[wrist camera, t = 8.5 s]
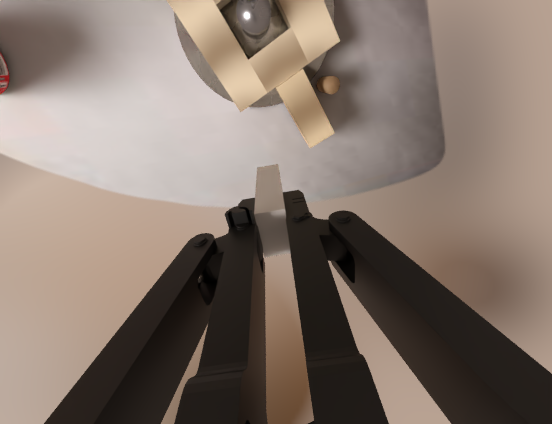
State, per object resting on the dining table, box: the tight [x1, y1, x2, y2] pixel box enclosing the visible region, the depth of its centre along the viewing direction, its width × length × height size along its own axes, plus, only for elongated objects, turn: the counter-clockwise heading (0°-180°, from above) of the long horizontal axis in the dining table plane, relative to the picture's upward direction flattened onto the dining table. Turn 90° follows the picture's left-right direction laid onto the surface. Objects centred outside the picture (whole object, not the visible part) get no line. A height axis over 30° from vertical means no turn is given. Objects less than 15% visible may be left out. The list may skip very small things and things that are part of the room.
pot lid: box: [174, 0, 334, 107], centre depth 23 cm, size 16×16×5 cm
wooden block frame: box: [167, 0, 340, 148], centre depth 24 cm, size 19×12×4 cm, turn 32°
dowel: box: [317, 76, 340, 94], centre depth 26 cm, size 2×2×4 cm
